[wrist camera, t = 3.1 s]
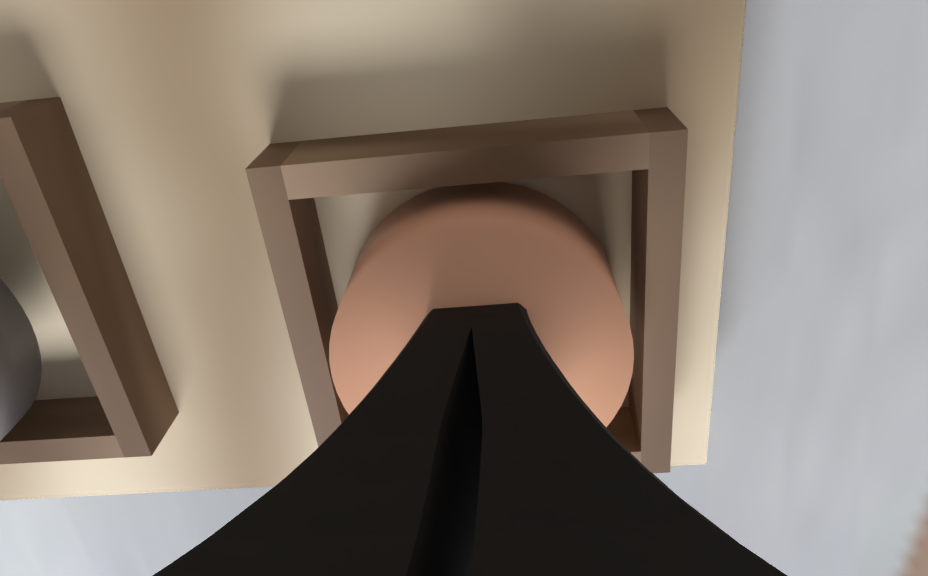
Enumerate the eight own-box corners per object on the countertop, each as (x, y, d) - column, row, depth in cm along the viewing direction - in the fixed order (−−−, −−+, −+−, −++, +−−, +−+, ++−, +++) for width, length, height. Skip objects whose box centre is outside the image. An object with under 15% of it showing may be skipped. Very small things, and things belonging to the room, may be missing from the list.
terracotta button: (374, 416, 13) (357, 487, 11) (328, 193, 11) (300, 241, 9) (613, 401, 12) (632, 473, 11) (614, 168, 10) (636, 214, 9)
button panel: (-44, 442, 16) (-156, 551, 14) (-637, -570, 9) (-1189, -809, 6) (680, 400, 15) (724, 511, 12) (754, -847, 7) (922, -1336, 4)
